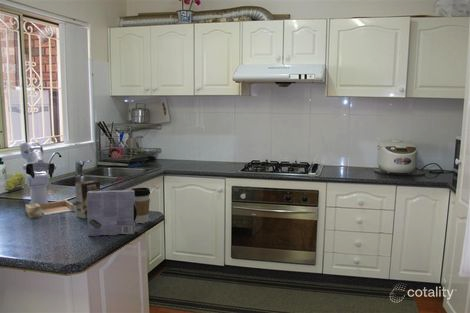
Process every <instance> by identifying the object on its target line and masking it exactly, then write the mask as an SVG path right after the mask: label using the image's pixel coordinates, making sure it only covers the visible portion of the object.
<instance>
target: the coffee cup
mask: <svg viewBox="0 0 470 313" xmlns="http://www.w3.org/2000/svg"><path fill="white" fill-rule="evenodd" d="M131 190H134V191H135V203H136V206H137V217H136V220H135V222H136V223H135V224H138V223H142V224H146V223H145V222H147V223H148V222H149V216H150V201H151V199H150V195H151V191H150V188H149V187H134V188H131Z"/></svg>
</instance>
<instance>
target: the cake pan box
mask: <svg viewBox="0 0 470 313" xmlns="http://www.w3.org/2000/svg"><path fill="white" fill-rule="evenodd" d="M136 217H137V206H136V203H135V191H134V190H130V189H128V190H127V189H126V190H100V191H88V192H87V218H86V219H87V220H86V221H87V224H86V225H87V236H88V237H99V236H100V235H104V236H105V235H109V236H119V235H118V234H126V235H135V232H136V223H135V220H136Z"/></svg>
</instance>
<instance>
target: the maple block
mask: <svg viewBox="0 0 470 313" xmlns="http://www.w3.org/2000/svg"><path fill="white" fill-rule="evenodd" d="M24 206H25V215H27V217H28V218H30V219H32V218H36V217H37V218H38V217H42V214H43V213H42V212H41V206H40V205H39V204H37V203H32V204H30V203H26V204H25V205H24Z"/></svg>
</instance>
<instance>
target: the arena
mask: <svg viewBox="0 0 470 313" xmlns="http://www.w3.org/2000/svg"><path fill="white" fill-rule="evenodd" d="M39 205H40V206H41V213H42V214H43V215H44V216H50V215H51V216H53V215H58V214H64V213H68V212H73V211H75V206H74V204H73V203H71V202H70V201H69V200H67V199H65V200H58V201H51V202H49V203H43V204H39Z"/></svg>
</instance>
